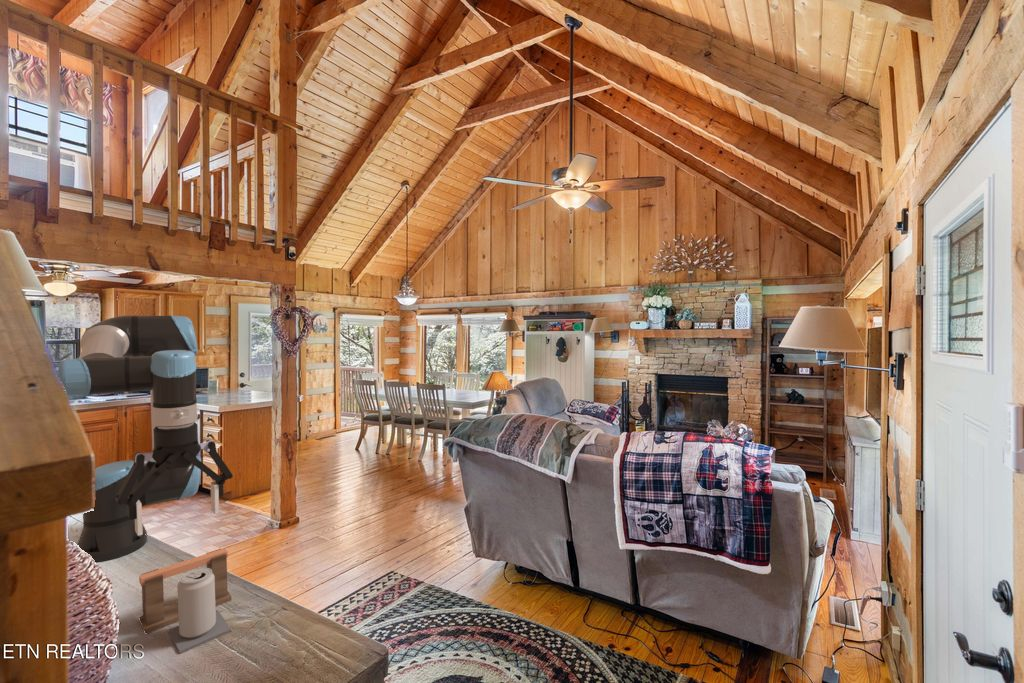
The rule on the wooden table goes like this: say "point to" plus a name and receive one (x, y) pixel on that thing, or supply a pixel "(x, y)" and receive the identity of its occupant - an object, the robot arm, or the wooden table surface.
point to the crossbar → (182, 566)
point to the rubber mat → (189, 643)
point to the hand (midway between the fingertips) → (179, 521)
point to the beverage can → (196, 602)
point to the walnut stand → (164, 616)
